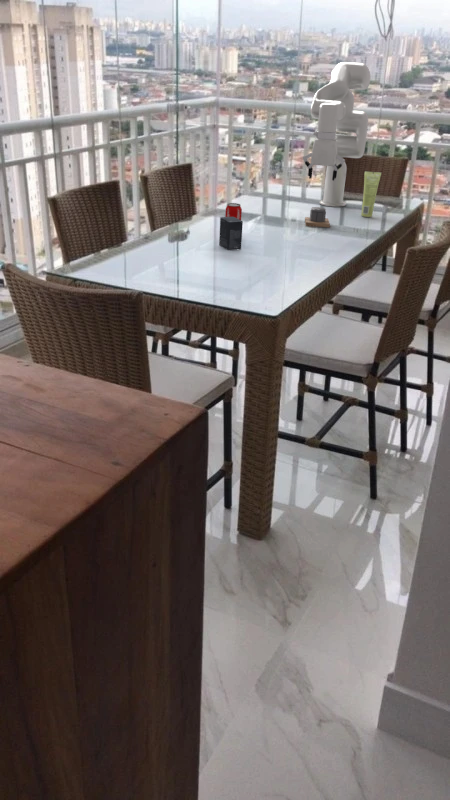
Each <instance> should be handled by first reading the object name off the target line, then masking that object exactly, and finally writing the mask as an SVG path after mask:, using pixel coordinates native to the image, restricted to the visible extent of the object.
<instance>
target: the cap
mask: <svg viewBox="0 0 450 800" xmlns="http://www.w3.org/2000/svg"><path fill="white" fill-rule="evenodd" d="M326 210H327V209H326V208H325V207H322V206H320V207H319V206H313V207H311V208H310V213H309V217H310V221H313V222H324V221H325V218H326V215H327V211H326Z"/></svg>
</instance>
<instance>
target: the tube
mask: <svg viewBox="0 0 450 800" xmlns="http://www.w3.org/2000/svg"><path fill="white" fill-rule="evenodd" d="M381 176H382V172H379V171H378V172H377V171H366V170H365V171H364V177H363V178H364V182H363V196H362V204H361V205H362V206H361V214H360V215H361V216H362V217H363V218H372V217H373V213H374V209H375V203H376V198H377V192H378V187H379V183H380V180H381Z"/></svg>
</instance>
